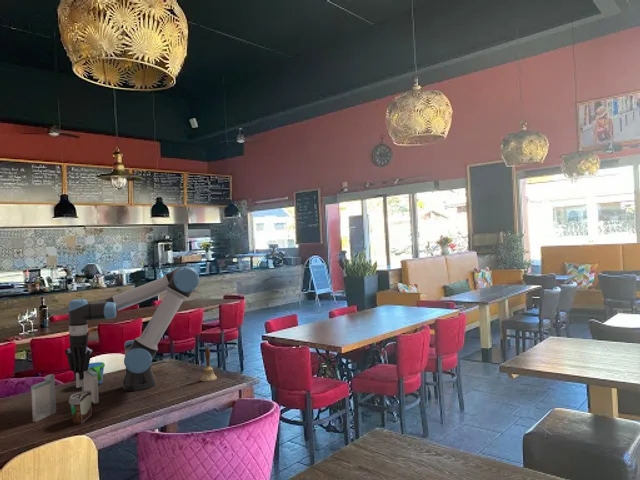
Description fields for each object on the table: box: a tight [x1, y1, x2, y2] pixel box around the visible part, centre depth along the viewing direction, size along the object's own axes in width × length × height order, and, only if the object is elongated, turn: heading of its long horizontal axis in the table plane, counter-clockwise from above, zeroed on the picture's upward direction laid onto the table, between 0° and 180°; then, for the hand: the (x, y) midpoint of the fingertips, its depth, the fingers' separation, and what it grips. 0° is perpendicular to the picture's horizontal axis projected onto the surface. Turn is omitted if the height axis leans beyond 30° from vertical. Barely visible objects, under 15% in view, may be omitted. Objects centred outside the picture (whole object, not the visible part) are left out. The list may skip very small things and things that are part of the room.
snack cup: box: [88, 361, 106, 386], centre depth 241 cm, size 16×10×10 cm
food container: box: [68, 390, 92, 425], centre depth 190 cm, size 12×6×10 cm, turn 5°
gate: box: [83, 368, 100, 404], centre depth 212 cm, size 2×18×13 cm, turn 39°
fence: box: [30, 374, 84, 423], centre depth 206 cm, size 2×32×16 cm, turn 170°
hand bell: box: [199, 347, 218, 382], centre depth 239 cm, size 8×8×16 cm
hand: (79, 386), depth 212 cm, fingers closed
